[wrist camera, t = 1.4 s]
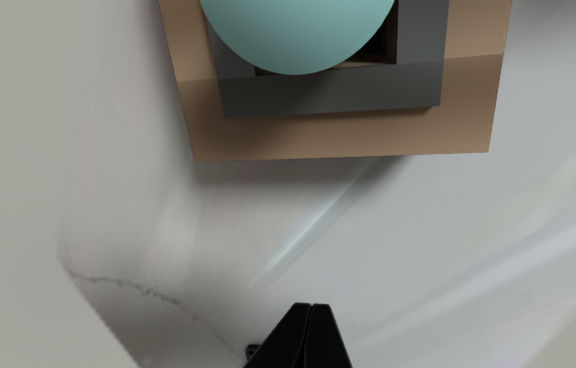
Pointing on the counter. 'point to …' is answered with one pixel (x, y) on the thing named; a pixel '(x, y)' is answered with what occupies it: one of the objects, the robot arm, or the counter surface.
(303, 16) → the peg
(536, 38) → the counter surface
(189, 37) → the socket block
